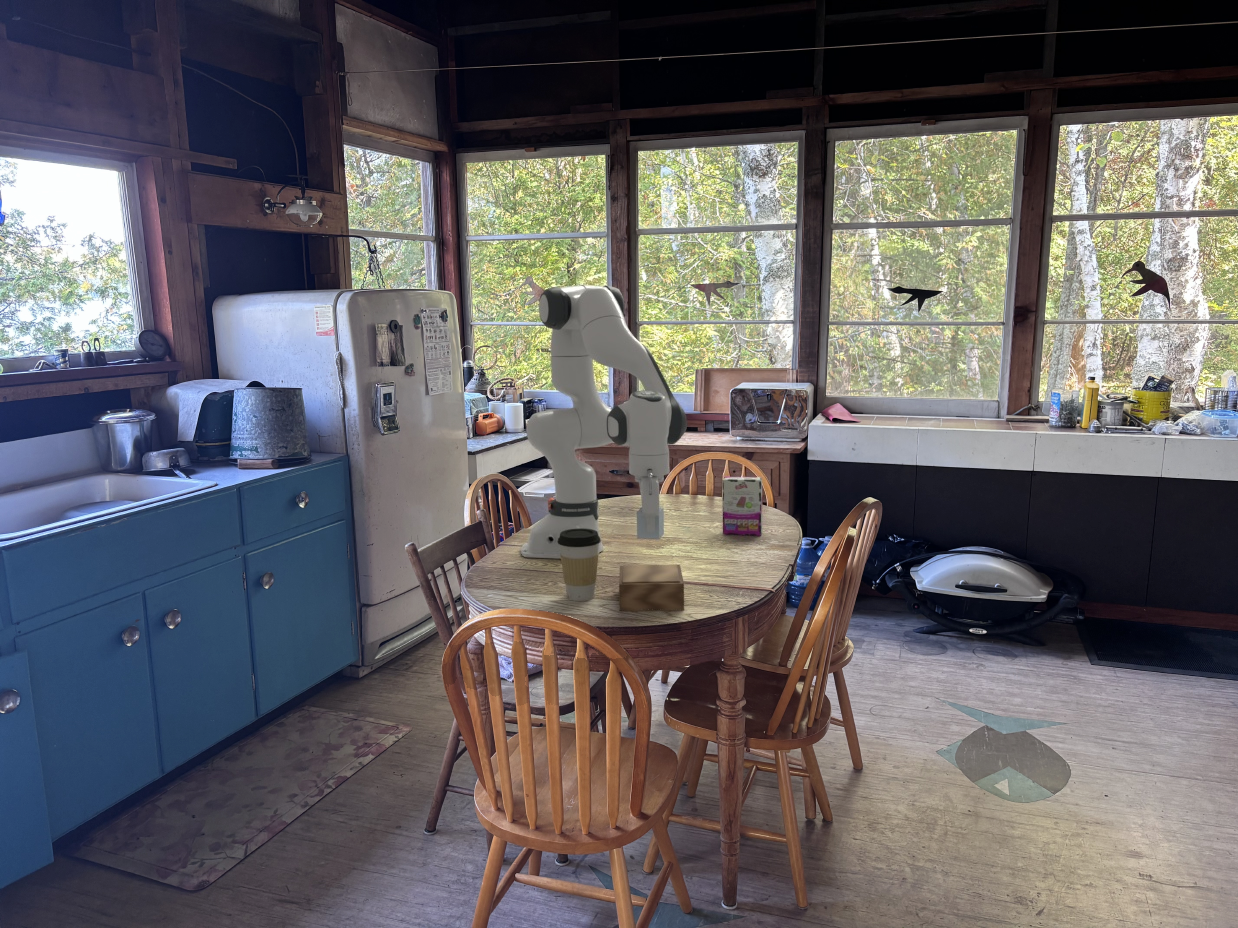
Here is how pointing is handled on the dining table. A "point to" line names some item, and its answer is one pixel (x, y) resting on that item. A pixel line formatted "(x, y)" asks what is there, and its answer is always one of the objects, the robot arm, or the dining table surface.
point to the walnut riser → (651, 588)
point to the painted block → (641, 526)
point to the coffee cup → (579, 562)
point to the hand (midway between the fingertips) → (650, 526)
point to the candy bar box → (742, 506)
